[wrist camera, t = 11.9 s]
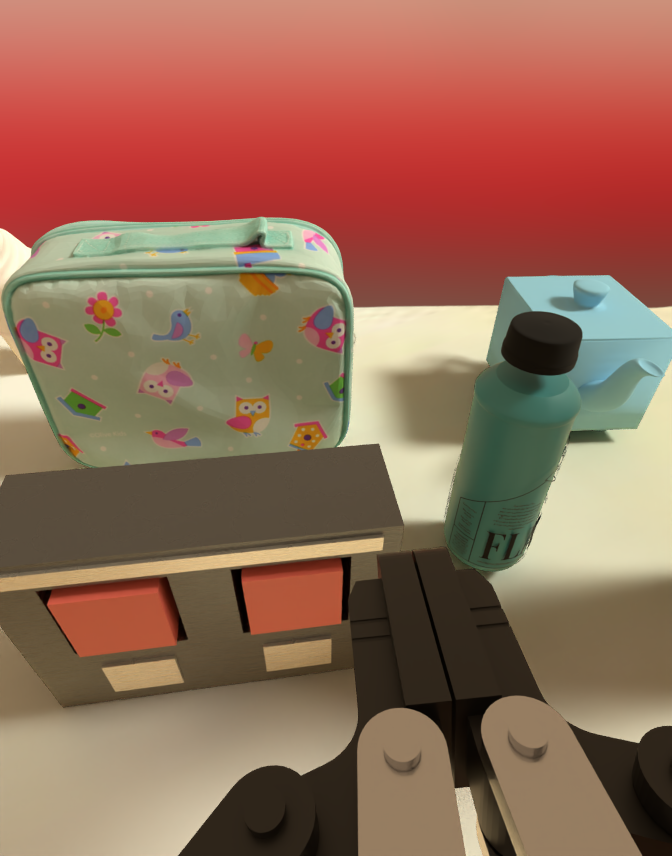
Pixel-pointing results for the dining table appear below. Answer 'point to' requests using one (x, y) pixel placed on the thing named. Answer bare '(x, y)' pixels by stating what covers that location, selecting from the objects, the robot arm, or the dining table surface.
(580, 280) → the teapot
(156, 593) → the rocker outlet
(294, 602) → the rocker outlet
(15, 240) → the soft serve ice cream cone
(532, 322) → the beverage bottle
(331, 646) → the dark grey switch housing
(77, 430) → the lunch box
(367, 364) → the dining table surface
